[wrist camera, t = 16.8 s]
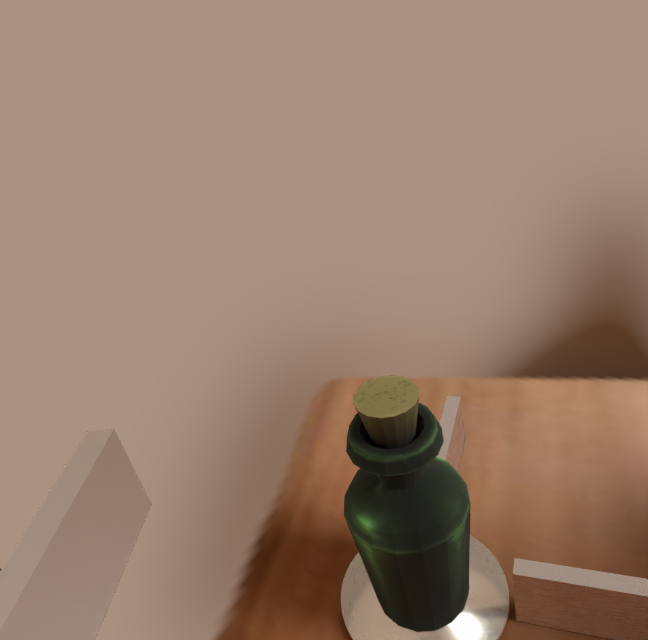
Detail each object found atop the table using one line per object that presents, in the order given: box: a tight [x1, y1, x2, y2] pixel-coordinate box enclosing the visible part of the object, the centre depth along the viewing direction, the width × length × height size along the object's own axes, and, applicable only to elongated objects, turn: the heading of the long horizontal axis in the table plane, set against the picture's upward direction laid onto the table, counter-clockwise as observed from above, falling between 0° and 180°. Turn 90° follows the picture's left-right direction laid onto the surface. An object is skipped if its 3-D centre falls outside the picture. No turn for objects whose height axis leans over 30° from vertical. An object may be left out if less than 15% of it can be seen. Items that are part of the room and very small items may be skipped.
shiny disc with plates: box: [341, 396, 648, 640], centre depth 43 cm, size 19×24×5 cm
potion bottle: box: [344, 375, 470, 632], centre depth 39 cm, size 8×8×18 cm
